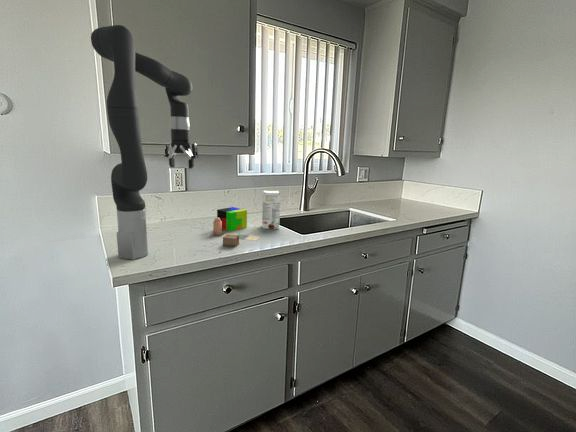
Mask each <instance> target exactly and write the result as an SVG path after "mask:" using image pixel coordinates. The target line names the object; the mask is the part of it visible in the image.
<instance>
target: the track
mask: <svg viewBox="0 0 576 432" xmlns="http://www.w3.org/2000/svg"><path fill="white" fill-rule="evenodd" d="M227 234H232V235H239V240H246V241H254V242H255V241H256V242H257V241H258V240H259V239H260V238H261V237H262V236H258V235H250V234H249V235H248V234H238V233H227V232H222V235H219V236H216V235H214V233H212V234H209V237H214V238H215V237H216V238H223V237H224V236H226V235H227Z"/></svg>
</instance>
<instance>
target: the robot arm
mask: <svg viewBox="0 0 576 432" xmlns="http://www.w3.org/2000/svg"><path fill="white" fill-rule="evenodd" d="M90 42H91V45H92V47H93V50H94V52H96V54H98V55H99V56H100V57H102V58H104V60H105V59H106V60H108V61H111V62H113V68H114V70H113V72H114V74H113V75H114V76H113V79H112V82H111V86H110V89H109V91H108V93H107V99H106V111H107V118H108V124H109V127H110V130H111V132H112V134H113V136H114V138H115V141H116V143H117V144H118V148H119V152H120V160H121V161H120V162H121V163H117V164H116V165H115V166H114V167H113V169H112V170H111V174H110V180H111V181H110V182H111V189H112V190H111V191H112V198H113V202H114V204H115V205H116V217H117V218H116V219H117V230H118V231H117V232H116V241H117V243H116V244H117V245H116V246H117V253H118V254H117V256H118V258H119V259H125V260H135V259H141V258H144V257H146V256H148V255H149V247H148V245H149V244H148V231H147V216H146V215H147V212H146V203H145V200H144V199H143V197H142V196H141V194H140V191H142V190H143V189H144V188H145V187H146V184H147V183H148V171H147V166H146V162H145V157H144V152H143V151H144V150H143V145H142V135H141V134H142V133H141V125H140V124H141V123H140V114H139V113H140V112H139V111H140V110H139V106H138V97H137V95H138V94H137V85H136V84H137V83H136V73H139V74H140V75H142V76H144V77H145V78H147V79H149V80H151V81H152V82H153V83H155V84H157V85H159V86H161V87H164V88H165V93H166V96H167V100H168V103H169V107H170V121H169V122H170V139H171V142H169V143H170V145H169V146H167V145H166V149H165V154H166V155H164V154H163V155H164V157H166V158H168V165H169V167H170V168H173V169H174V168H175V167H176V166H175V157H176V155H177V154H184V155H185V156H187V158H188V169H189V170H191V169H193V168H194V164H195V162H194V161H195V159H198V158H199V151H198V144H197V143H191V142H190V140H191V127H190V117H189V116H190V114H189V113H190V111H189V104H188V103H187V102H184V101H180V100H181V99H180V100H179V99H178V97H177V96H179V97H181V96H183V97H184V96H189V95H191V93H192V91H193V83H192V82H191V80H190V79H189V78H188V77H186V76H185V75H184V74H182V73H180V72H177V71H173V70H172V69H169V68H168V67H167V66H165V65H164V64H163V63H161V62H159V61H158V60H156V59H153V58H151V57H149V56H147V55H144V54H140V53H139V52H136V46H135V45H136V44H135V40H134V37H133V35H132V33H131V31H130V30H129V29H128V28H127V27H126V26H124V25H122V24H114V25H109V26H108V25H107V26H100V27H97V28H95V29H93V31H92V33H91V35H90ZM170 147H171V148H172V149H171V148H170ZM168 148H170V149H171V150H170V154H168V150H169V149H168Z"/></svg>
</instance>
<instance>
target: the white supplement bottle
mask: <svg viewBox="0 0 576 432" xmlns="http://www.w3.org/2000/svg"><path fill="white" fill-rule="evenodd" d="M261 210H262V212H261V213H262V215H261V225H262V228H263V229H264V230H265V229H266V230H267V229H270V230H272V229H273V230H276V229H277V230H278V229H279V227H280V218H281V217H280V216H281V215H280V211H281V195H280V192H279V190H263V194H262V209H261Z"/></svg>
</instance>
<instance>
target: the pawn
mask: <svg viewBox="0 0 576 432" xmlns="http://www.w3.org/2000/svg"><path fill="white" fill-rule="evenodd" d="M212 224H213V225H212V227H213V230H212V232H213V233H214V235H216V236H219V235H222V233H223V231H222V230H223V229H222V221H221V219H220V218H218V217H217V216H216V217H215V218H214V220H213V223H212ZM213 233H212V234H213Z"/></svg>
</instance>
